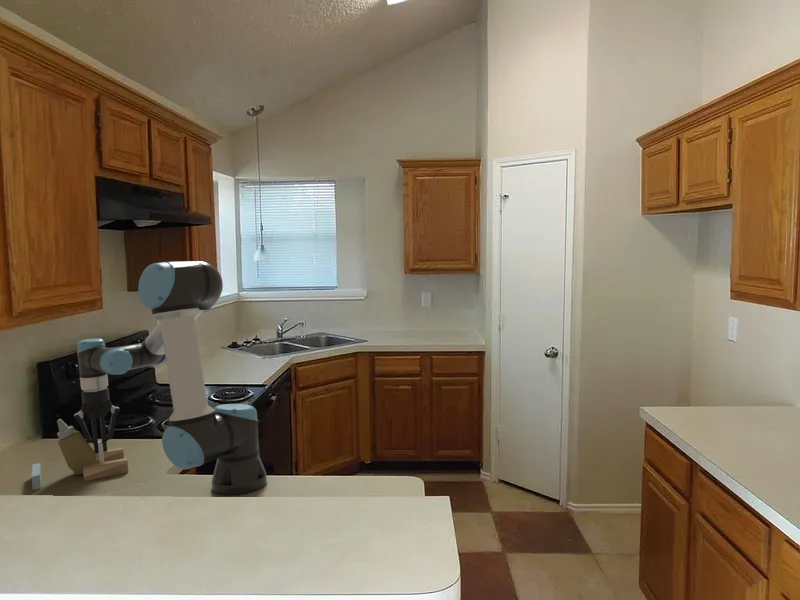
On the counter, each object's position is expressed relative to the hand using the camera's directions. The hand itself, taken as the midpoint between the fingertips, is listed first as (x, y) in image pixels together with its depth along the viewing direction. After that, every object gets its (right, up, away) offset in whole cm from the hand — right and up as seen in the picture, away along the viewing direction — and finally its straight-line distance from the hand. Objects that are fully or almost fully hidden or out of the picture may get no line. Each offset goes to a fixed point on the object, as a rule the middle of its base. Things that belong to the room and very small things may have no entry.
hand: (101, 462), depth 182 cm
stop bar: (-14, -3, -9) cm, 18 cm away
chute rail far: (-2, -2, +5) cm, 6 cm away
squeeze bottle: (-3, -2, -2) cm, 4 cm away
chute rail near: (+4, -3, -5) cm, 7 cm away
